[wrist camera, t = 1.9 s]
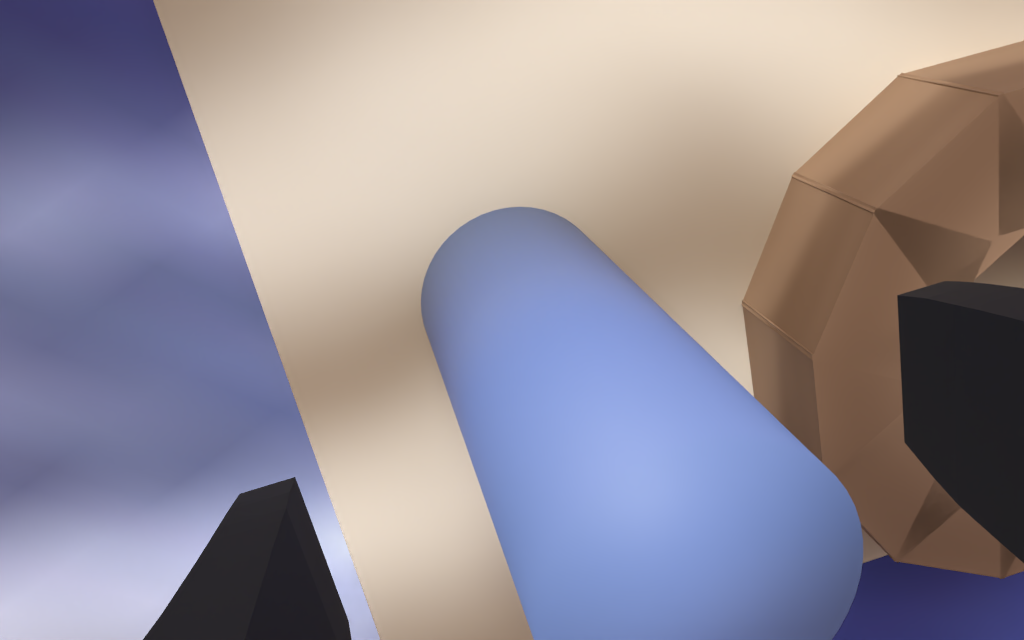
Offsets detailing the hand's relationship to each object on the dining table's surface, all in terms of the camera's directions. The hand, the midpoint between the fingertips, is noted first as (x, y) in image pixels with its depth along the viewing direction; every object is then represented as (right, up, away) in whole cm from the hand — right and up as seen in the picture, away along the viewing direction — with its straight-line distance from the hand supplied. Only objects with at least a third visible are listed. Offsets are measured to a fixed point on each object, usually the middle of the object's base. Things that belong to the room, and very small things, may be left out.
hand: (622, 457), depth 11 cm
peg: (-1, +2, +5) cm, 6 cm away
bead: (+7, +2, +7) cm, 11 cm away
